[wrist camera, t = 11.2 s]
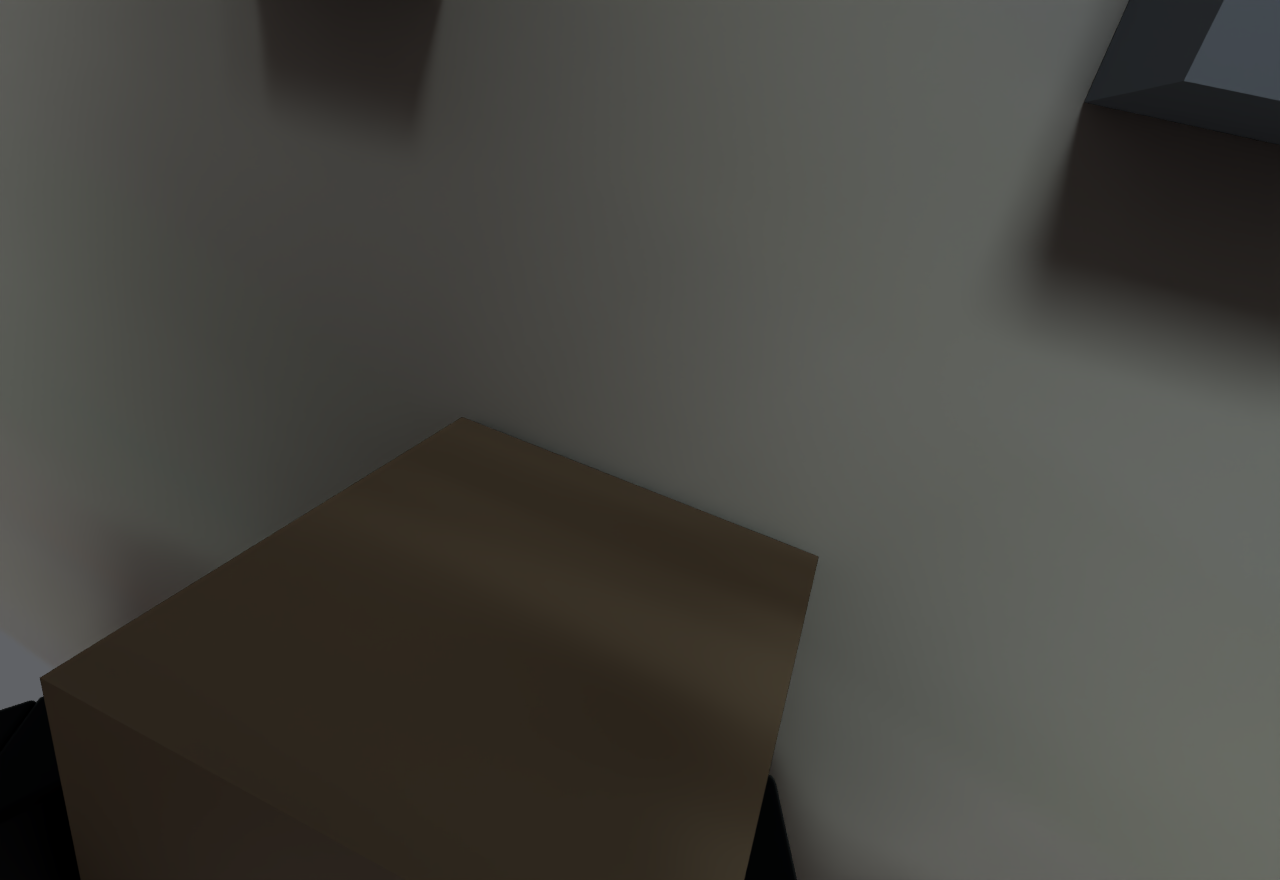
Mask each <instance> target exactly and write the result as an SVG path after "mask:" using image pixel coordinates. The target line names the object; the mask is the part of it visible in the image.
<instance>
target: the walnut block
mask: <svg viewBox="0 0 1280 880" xmlns="http://www.w3.org/2000/svg"><path fill="white" fill-rule="evenodd" d="M817 562H818V556H815V555H813V554H810V553H808V552H805V551H803V550H800V549H797V548H795V547H792V546H790V545H787V544H785V543H782V542H780V541H777V540H774V539H772V538H769V537H767V536H764V535H762V534H759V533H757V532H754V531H752V530H749V529H746V528H744V527H741V526H739V525H736V524H734V523H731V522H729V521H726V520H723V519H721V518H718V517H716V516H713V515H711V514H708V513H706V512H703V511H701V510H698V509H695V508H693V507H690V506H688V505H685V504H683V503H680V502H678V501H675V500H672V499H670V498H667V497H665V496H662V495H660V494H657V493H655V492H652V491H650V490H647V489H644V488H642V487H639V486H637V485H634V484H632V483H629V482H627V481H624V480H621V479H619V478H616V477H614V476H611V475H609V474H606V473H604V472H601V471H599V470H596V469H593V468H591V467H588V466H586V465H583V464H581V463H578V462H576V461H573V460H570V459H568V458H565V457H563V456H560V455H558V454H555V453H553V452H550V451H548V450H545V449H542V448H540V447H537V446H535V445H532V444H530V443H527V442H525V441H522V440H519V439H517V438H514V437H512V436H509V435H507V434H504V433H502V432H499V431H496V430H494V429H491V428H489V427H486V426H484V425H481V424H479V423H476V422H474V421H471V420H468V419H466V418H463V417H461V418H460V419H458V420H457V421H455V422H453V423H452V424H450V425H448V426H447V427H445V428H444V429H442V430H440V431H439V432H437V433H435V434H434V435H432V436H431V437H429V438H427V439H426V440H424V441H423V442H421V443H419V444H418V445H416V446H414V447H413V448H411V449H410V450H408V451H406V452H405V453H403V454H401V455H400V456H398V457H397V458H395V459H393V460H392V461H390V462H389V463H387V464H385V465H384V466H382V467H380V468H379V469H377V470H376V471H374V472H372V473H371V474H369V475H367V476H366V477H364V478H363V479H361V480H359V481H358V482H356V483H355V484H353V485H351V486H350V487H348V488H346V489H345V490H343V491H342V492H340V493H338V494H337V495H335V496H333V497H332V498H330V499H329V500H327V501H325V502H324V503H322V504H321V505H319V506H317V507H316V508H314V509H312V510H311V511H309V512H308V513H306V514H304V515H303V516H301V517H299V518H298V519H296V520H295V521H293V522H291V523H290V524H288V525H287V526H285V527H283V528H282V529H280V530H278V531H277V532H275V533H274V534H272V535H270V536H269V537H267V538H265V539H264V540H262V541H261V542H259V543H257V544H256V545H254V546H252V547H251V548H249V549H248V550H246V551H244V552H243V553H241V554H240V555H238V556H236V557H235V558H233V559H231V560H230V561H228V562H227V563H225V564H223V565H222V566H220V567H218V568H217V569H215V570H214V571H212V572H210V573H209V574H207V575H206V576H204V577H202V578H201V579H199V580H197V581H196V582H194V583H193V584H191V585H189V586H188V587H186V588H184V589H183V590H181V591H180V592H178V593H176V594H175V595H173V596H172V597H170V598H168V599H167V600H165V601H163V602H162V603H160V604H159V605H157V606H155V607H154V608H152V609H150V610H149V611H147V612H146V613H144V614H142V615H141V616H139V617H138V618H136V619H134V620H133V621H131V622H129V623H128V624H126V625H125V626H123V627H121V628H120V629H118V630H116V631H115V632H113V633H112V634H110V635H108V636H107V637H105V638H104V639H102V640H100V641H99V642H97V643H95V644H94V645H92V646H91V647H89V648H87V649H86V650H84V651H82V652H81V653H79V654H78V655H76V656H74V657H73V658H71V659H70V660H68V661H66V662H65V663H63V664H61V665H60V666H58V667H57V668H55V669H53V670H52V671H50V672H49V673H47V674H45V675H44V676H42V677H41V678H40V681H41V685H42V691H43V695H44V701H45V706H46V711H47V715H48V720H49V725H50V730H51V735H52V740H53V745H54V750H55V755H56V760H57V765H58V770H59V775H60V780H61V785H62V790H63V795H64V800H65V805H66V810H67V815H68V820H69V825H70V830H71V835H72V840H73V845H74V850H75V855H76V860H77V864H78V869H79V874H80V879H81V880H744V879H745V874H746V870H747V866H748V861H749V857H750V853H751V848H752V844H753V840H754V835H755V831H756V827H757V822H758V818H759V814H760V809H761V805H762V801H763V796H764V792H765V788H766V783H767V779H768V774H769V770H770V766H771V761H772V757H773V753H774V748H775V744H776V740H777V735H778V731H779V727H780V722H781V718H782V714H783V709H784V705H785V701H786V696H787V692H788V688H789V683H790V679H791V675H792V670H793V666H794V662H795V657H796V653H797V649H798V644H799V640H800V636H801V631H802V627H803V623H804V618H805V614H806V610H807V605H808V601H809V596H810V592H811V588H812V583H813V579H814V575H815V570H816V566H817Z"/></svg>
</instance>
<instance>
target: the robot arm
mask: <svg viewBox="0 0 1280 880" xmlns="http://www.w3.org/2000/svg"><path fill="white" fill-rule="evenodd" d="M0 880H81V879H80V874H79V869H78V864H77V860H76V855H75V850H74V845H73V840H72V835H71V830H70V825H69V820H68V815H67V810H66V805H65V800H64V795H63V790H62V785H61V780H60V775H59V770H58V765H57V760H56V755H55V750H54V745H53V740H52V735H51V730H50V725H49V720H48V715H47V711H46V706H45V701H44V696H43V697H41V698H40V699H39V700H38V701H37V702H35V701H27V702H24V703H21V704H18V705H15V706H12V707H8V708H5V709H2V710H0ZM744 880H797V878H796V873H795V869H794V864H793V860H792V855H791V850H790V846H789V841H788V837H787V832H786V828H785V823H784V818H783V814H782V809H781V805H780V800H779V795H778V791H777V786H776V783H775V780H774V778H773V777H772V776H771V775H769V774H768V779H767V783H766V788H765V792H764V796H763V801H762V805H761V809H760V814H759V818H758V822H757V827H756V831H755V835H754V840H753V844H752V848H751V853H750V857H749V861H748V866H747V870H746V874H745V879H744Z"/></svg>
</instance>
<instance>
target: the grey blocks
mask: <svg viewBox="0 0 1280 880" xmlns="http://www.w3.org/2000/svg"><path fill="white" fill-rule="evenodd" d="M1085 103H1090V104H1095V105H1099V106H1104V107H1108V108H1113V109H1118V110H1122V111H1127V112H1131V113H1136V114H1141V115H1145V116H1150V117H1154V118H1159V119H1164V120H1168V121H1173V122H1177V123H1182V124H1187V125H1191V126H1196V127H1200V128H1205V129H1210V130H1214V131H1219V132H1223V133H1228V134H1233V135H1237V136H1242V137H1246V138H1251V139H1256V140H1260V141H1265V142H1269V143H1274V144H1279V145H1280V0H1130V1H1129V3H1128V5H1127V7H1126V10H1125V12H1124V14H1123V16H1122V19H1121V21H1120V23H1119V25H1118V28H1117V30H1116V32H1115V34H1114V37H1113V39H1112V41H1111V43H1110V46H1109V48H1108V50H1107V52H1106V55H1105V57H1104V59H1103V61H1102V64H1101V66H1100V68H1099V70H1098V73H1097V75H1096V77H1095V79H1094V82H1093V84H1092V86H1091V88H1090V91H1089V93H1088V95H1087V97H1086V100H1085Z"/></svg>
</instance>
